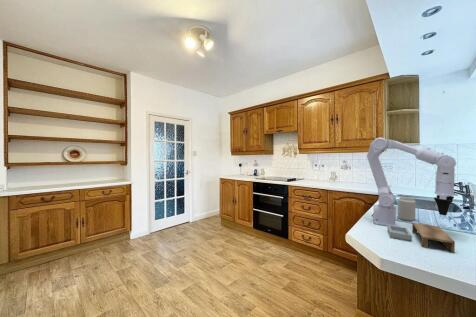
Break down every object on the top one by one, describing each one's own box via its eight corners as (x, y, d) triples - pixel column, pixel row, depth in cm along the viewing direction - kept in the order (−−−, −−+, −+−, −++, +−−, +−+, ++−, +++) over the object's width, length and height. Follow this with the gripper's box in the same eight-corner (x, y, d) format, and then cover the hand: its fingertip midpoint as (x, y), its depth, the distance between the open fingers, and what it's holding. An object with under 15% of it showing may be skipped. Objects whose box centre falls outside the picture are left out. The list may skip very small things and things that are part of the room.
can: (416, 222, 106) (417, 199, 106) (398, 219, 110) (399, 197, 110) (413, 218, 112) (414, 197, 112) (396, 216, 116) (397, 195, 116)
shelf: (422, 247, 78) (422, 236, 78) (412, 231, 93) (412, 222, 93) (454, 253, 73) (454, 241, 73) (438, 236, 88) (438, 226, 88)
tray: (390, 238, 86) (390, 231, 86) (387, 230, 95) (387, 224, 95) (411, 241, 82) (411, 235, 82) (406, 233, 91) (407, 227, 91)
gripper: (457, 185, 82) (456, 218, 82) (458, 182, 91) (457, 212, 92) (433, 183, 87) (432, 214, 87) (436, 180, 97) (435, 208, 97)
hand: (443, 213), depth 90 cm, fingers open, 7 cm apart
